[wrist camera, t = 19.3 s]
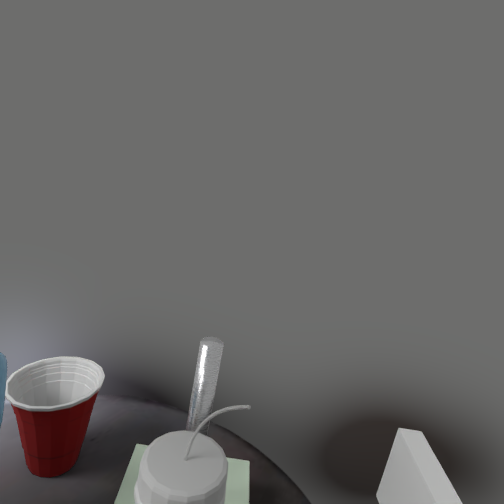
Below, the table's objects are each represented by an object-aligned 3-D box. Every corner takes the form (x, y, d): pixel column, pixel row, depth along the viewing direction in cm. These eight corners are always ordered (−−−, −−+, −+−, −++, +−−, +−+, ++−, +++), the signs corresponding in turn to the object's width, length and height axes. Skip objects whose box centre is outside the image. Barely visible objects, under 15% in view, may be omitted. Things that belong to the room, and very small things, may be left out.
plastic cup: (35, 422, 58) (39, 345, 54) (110, 438, 57) (118, 362, 54) (-21, 484, 47) (-21, 394, 44) (70, 505, 47) (78, 415, 44)
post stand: (228, 603, 40) (278, 390, 34) (104, 586, 40) (130, 366, 33) (234, 498, 52) (271, 325, 45) (138, 484, 51) (162, 306, 45)
